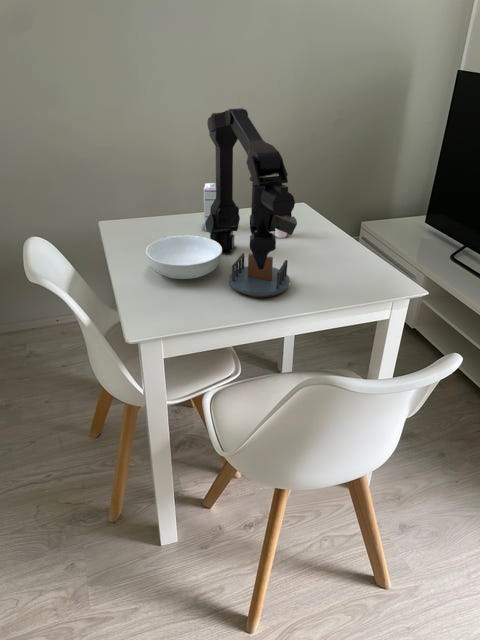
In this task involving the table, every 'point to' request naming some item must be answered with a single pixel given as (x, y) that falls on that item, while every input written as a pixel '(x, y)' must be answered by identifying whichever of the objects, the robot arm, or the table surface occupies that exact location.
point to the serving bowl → (184, 256)
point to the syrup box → (208, 199)
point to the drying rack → (259, 277)
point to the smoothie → (280, 233)
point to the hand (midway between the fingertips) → (260, 261)
